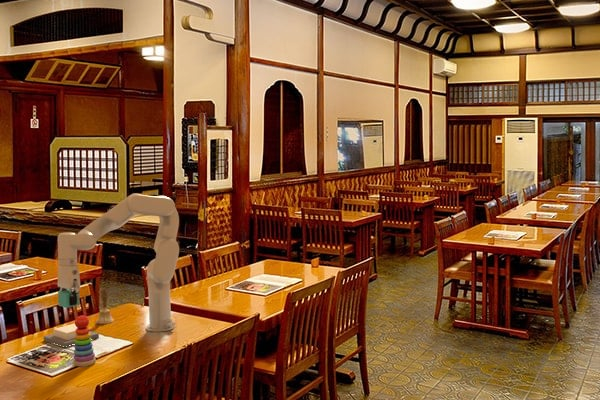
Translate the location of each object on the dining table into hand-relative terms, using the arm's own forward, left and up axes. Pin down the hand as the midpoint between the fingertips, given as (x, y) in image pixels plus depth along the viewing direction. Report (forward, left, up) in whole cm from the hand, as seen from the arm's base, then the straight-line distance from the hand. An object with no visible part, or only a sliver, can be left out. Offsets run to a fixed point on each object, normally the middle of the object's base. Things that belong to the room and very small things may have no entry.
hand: (68, 303), depth 260 cm
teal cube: (0, 0, -1) cm, 1 cm away
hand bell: (+11, -25, -16) cm, 32 cm away
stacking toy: (-31, +14, -16) cm, 37 cm away
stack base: (0, 0, -16) cm, 16 cm away
